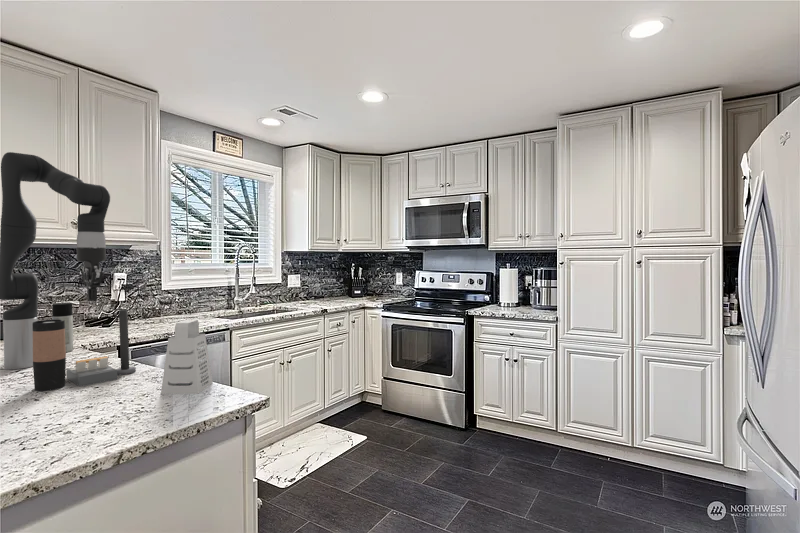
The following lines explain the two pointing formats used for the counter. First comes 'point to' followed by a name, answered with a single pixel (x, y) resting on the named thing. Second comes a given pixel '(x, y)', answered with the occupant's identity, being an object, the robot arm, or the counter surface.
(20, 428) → the counter surface
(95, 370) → the breaker panel
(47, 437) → the counter surface
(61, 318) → the spray can
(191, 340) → the grater
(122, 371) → the stand
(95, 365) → the breaker paddles
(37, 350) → the travel mug
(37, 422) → the counter surface
